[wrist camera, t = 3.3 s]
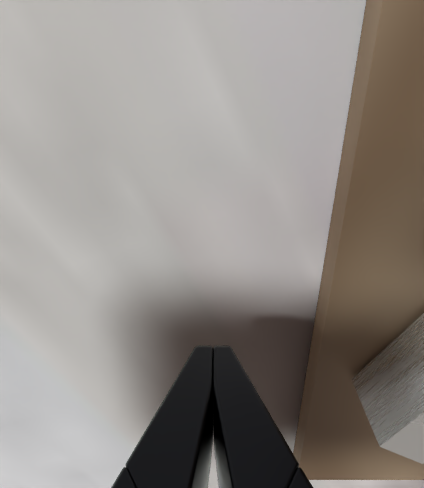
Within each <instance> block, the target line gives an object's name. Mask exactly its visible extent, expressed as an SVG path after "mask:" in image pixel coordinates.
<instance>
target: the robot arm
mask: <svg viewBox="0 0 424 488" xmlns="http://www.w3.org/2000/svg"><path fill="white" fill-rule="evenodd" d="M213 434H214V450H215V459H216V468H217V476H218V485H219V488H313V487H312V485H311V483H310V482H309V480H308V478H307V477H306V475H305V473H304V471H303V470H302V468H300V467H299V463H298V462H297V460H296V458H295V456H294V455H293V453H292V451H291V449H290V448H289V446H288V444H287V443H286V441H285V439H284V437H283V436H282V434H281V432H280V431H279V429H278V427H277V425H276V424H275V422H274V420H273V419H272V417H271V415H270V413H269V412H268V410H267V408H266V407H265V405H264V403H263V401H262V400H261V398H260V396H259V395H258V393H257V391H256V389H255V388H254V386H253V384H252V383H251V381H250V379H249V377H248V376H247V374H246V372H245V371H244V369H243V367H242V365H241V364H240V362H239V360H238V359H237V357H236V355H235V353H234V352H233V350H232V348H231V347H230V346H214V348H213V347H212V346H196V347H195V348H194V350H193V352H192V353H191V355H190V357H189V358H188V360H187V362H186V363H185V365H184V367H183V369H182V370H181V372H180V374H179V375H178V377H177V379H176V380H175V382H174V384H173V385H172V387H171V389H170V390H169V392H168V394H167V395H166V397H165V399H164V400H163V402H162V404H161V406H160V407H159V409H158V411H157V412H156V414H155V416H154V417H153V419H152V421H151V422H150V424H149V426H148V427H147V429H146V431H145V432H144V434H143V436H142V437H141V439H140V441H139V442H138V444H137V446H136V448H135V449H134V451H133V453H132V454H131V456H130V458H129V459H128V461H127V463H126V467H124V468H123V469H122V471H121V472H120V474H119V476H118V477H117V479H116V481H115V483H114V484H113V486H112V487H111V488H208V481H209V473H210V464H211V456H212V445H213Z"/></svg>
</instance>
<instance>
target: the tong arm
mask: <svg viewBox="0 0 424 488" xmlns="http://www.w3.org/2000/svg"><path fill="white" fill-rule="evenodd" d="M352 382H353V384H354V387H355V389H356V391H357V394H358V396H359V399H360V401H361V403H362V406H363V408H364V410H365V413H366V415H367V418H368V420H369V422H370V425H371V427H372V430H373V432H374V434H375V437H376V439H377V441H378V444H379V446H380V447H382V448H384V449H387V450H389V451H391V452H394V453H396V454H399V455H401V456H404V457H406V458H409V459H411V460H414V461H416V462H419V463H421V464H424V313H423V314H421V315H420V316H419V317H418V318H417V319H416V320H415V321H414V322H413V323H412V324H411V325H410V326H409V327H408V328H406V329H405V330H404V331H403V332H402V333H401V334H400V335H399V336H398V337H397V338H396V339H395V340H394V341H393V342H392V343H390V344H389V345H388V346H387V347H386V348H385V349H384V350H383V351H382V352H381V353H380V354H379V355H378V356H377V357H375V358H374V359H373V360H372V361H371V362H370V363H369V364H368V365H367V366H366V367H365V368H364V369H363V370H362V371H361V372H359V373H358V374H357V375H356V376H355V377H354V378H353V379H352Z"/></svg>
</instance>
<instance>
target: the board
mask: <svg viewBox="0 0 424 488" xmlns="http://www.w3.org/2000/svg"><path fill="white" fill-rule="evenodd" d="M423 313H424V0H366V7H365V13H364V19H363V25H362V31H361V37H360V44H359V50H358V56H357V62H356V68H355V75H354V81H353V87H352V93H351V99H350V105H349V112H348V118H347V124H346V130H345V136H344V143H343V149H342V155H341V161H340V167H339V173H338V180H337V186H336V192H335V198H334V204H333V210H332V217H331V223H330V229H329V235H328V241H327V248H326V254H325V260H324V266H323V272H322V278H321V285H320V291H319V297H318V303H317V309H316V316H315V322H314V328H313V334H312V340H311V346H310V353H309V359H308V365H307V371H306V377H305V384H304V390H303V396H302V402H301V408H300V414H299V421H298V427H297V433H296V439H295V445H294V451H293V455H294V456H295V458H296V460H297V462H298V463H299V467H300V468H302V470H303V471H304V473H305V475H306V477H307V478H308V480H424V464H421V463H419V462H416V461H414V460H411V459H409V458H406V457H404V456H401V455H399V454H396V453H394V452H391V451H389V450H387V449H384V448H382V447H380V446H379V444H378V441H377V439H376V437H375V434H374V432H373V430H372V427H371V425H370V422H369V420H368V418H367V415H366V413H365V410H364V408H363V406H362V403H361V401H360V399H359V396H358V394H357V391H356V389H355V387H354V384H353V382H352V379H353V378H354V377H355V376H356V375H357V374H358V373H359V372H361V371H362V370H363V369H364V368H365V367H366V366H367V365H368V364H369V363H370V362H371V361H372V360H373V359H374V358H375V357H377V356H378V355H379V354H380V353H381V352H382V351H383V350H384V349H385V348H386V347H387V346H388V345H389V344H390V343H392V342H393V341H394V340H395V339H396V338H397V337H398V336H399V335H400V334H401V333H402V332H403V331H404V330H405V329H406V328H408V327H409V326H410V325H411V324H412V323H413V322H414V321H415V320H416V319H417V318H418V317H419V316H420V315H421V314H423Z"/></svg>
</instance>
